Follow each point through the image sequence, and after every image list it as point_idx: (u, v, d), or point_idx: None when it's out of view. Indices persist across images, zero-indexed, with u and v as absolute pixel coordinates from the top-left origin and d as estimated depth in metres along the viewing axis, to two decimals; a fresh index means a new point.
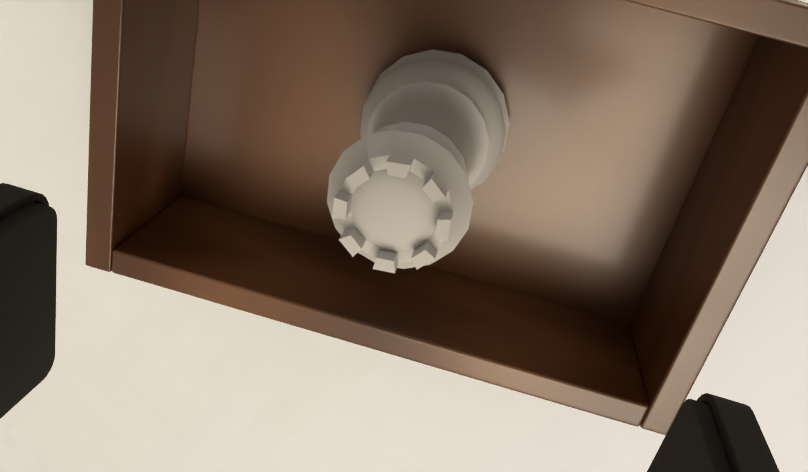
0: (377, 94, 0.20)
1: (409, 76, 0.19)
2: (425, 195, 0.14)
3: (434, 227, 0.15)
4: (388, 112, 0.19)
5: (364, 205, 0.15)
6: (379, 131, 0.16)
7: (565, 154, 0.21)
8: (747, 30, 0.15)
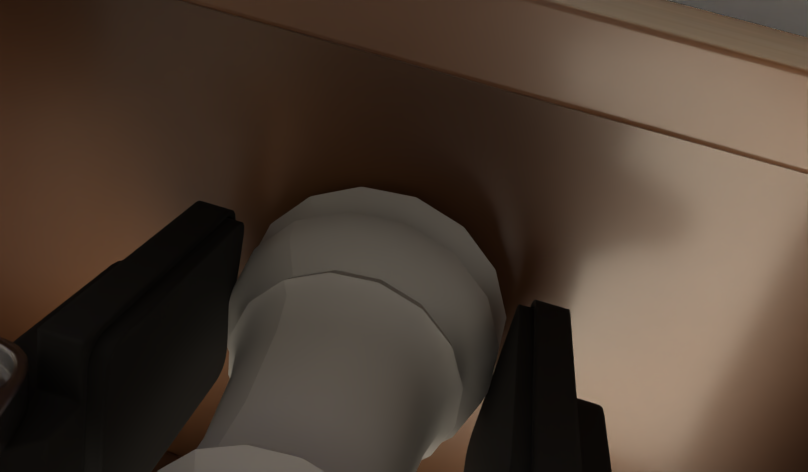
0: (249, 280, 0.10)
1: (307, 254, 0.10)
2: None
3: None
4: (254, 341, 0.09)
5: None
6: (186, 459, 0.07)
7: (607, 365, 0.12)
8: None
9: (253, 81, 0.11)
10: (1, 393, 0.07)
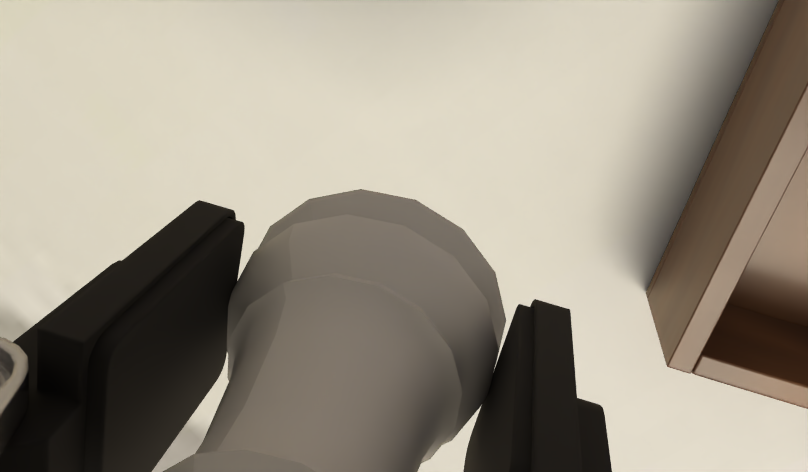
0: (249, 283, 0.10)
1: (306, 257, 0.10)
2: None
3: None
4: (254, 344, 0.09)
5: None
6: (185, 464, 0.07)
7: None
8: None
9: None
10: (1, 393, 0.07)
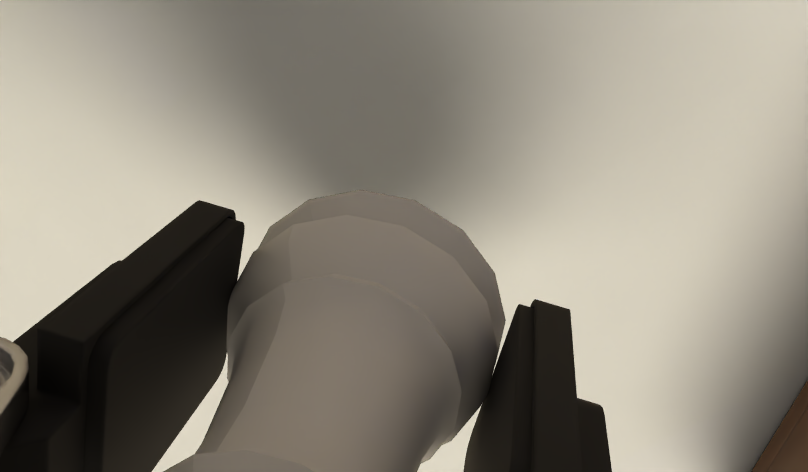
0: (249, 283, 0.10)
1: (306, 258, 0.10)
2: None
3: None
4: (253, 345, 0.09)
5: None
6: (184, 464, 0.07)
7: None
8: None
9: None
10: (1, 393, 0.07)
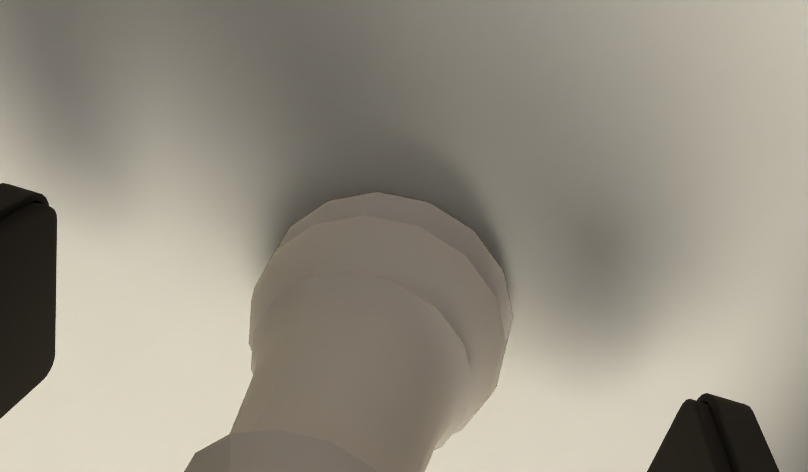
0: (272, 279, 0.11)
1: (327, 256, 0.10)
2: None
3: None
4: (278, 336, 0.10)
5: None
6: (222, 443, 0.07)
7: None
8: None
9: None
10: None
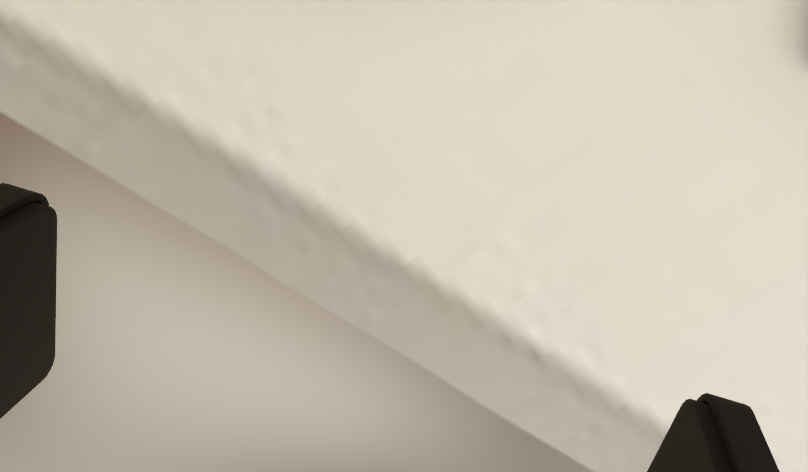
0: None
1: None
2: None
3: None
4: None
5: None
6: None
7: None
8: None
9: None
10: None
